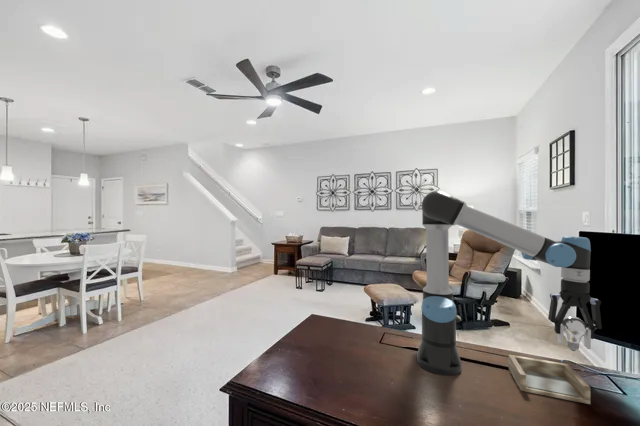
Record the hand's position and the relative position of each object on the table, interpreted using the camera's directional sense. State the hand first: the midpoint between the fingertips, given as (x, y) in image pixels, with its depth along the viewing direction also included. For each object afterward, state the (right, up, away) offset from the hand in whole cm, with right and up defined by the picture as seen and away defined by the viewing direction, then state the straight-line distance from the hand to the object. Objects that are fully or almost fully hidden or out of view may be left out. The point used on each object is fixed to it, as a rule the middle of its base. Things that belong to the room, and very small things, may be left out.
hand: (573, 344), depth 98 cm
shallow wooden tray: (-16, -9, -8) cm, 20 cm away
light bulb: (0, -2, 0) cm, 2 cm away
